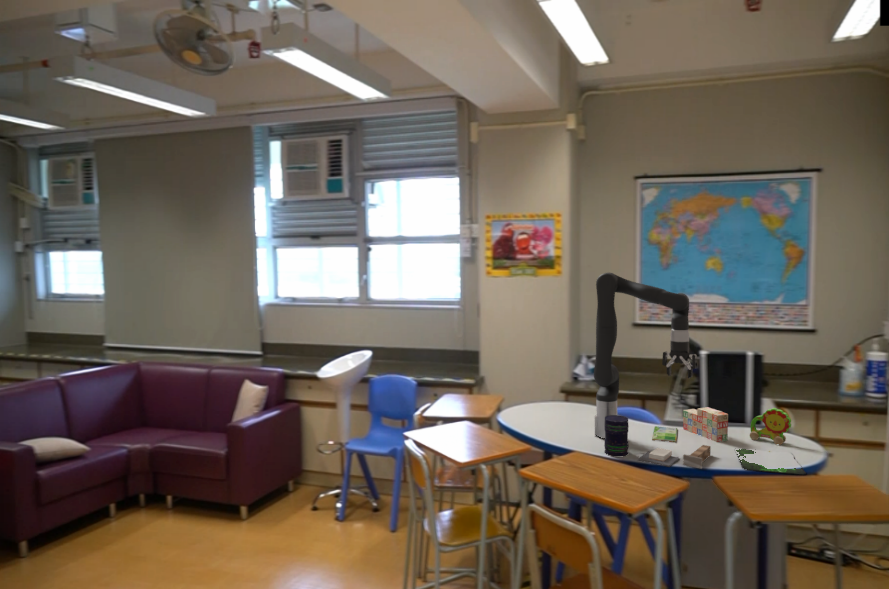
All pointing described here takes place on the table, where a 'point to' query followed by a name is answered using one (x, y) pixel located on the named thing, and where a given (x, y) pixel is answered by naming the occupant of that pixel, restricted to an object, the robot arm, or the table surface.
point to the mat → (667, 462)
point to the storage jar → (616, 435)
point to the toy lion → (772, 426)
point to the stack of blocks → (706, 423)
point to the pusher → (697, 457)
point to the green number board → (665, 434)
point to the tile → (660, 454)
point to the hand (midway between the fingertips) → (679, 376)
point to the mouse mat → (761, 468)
